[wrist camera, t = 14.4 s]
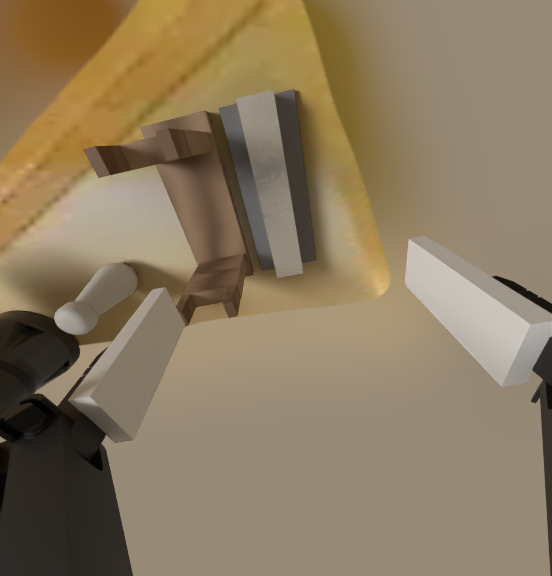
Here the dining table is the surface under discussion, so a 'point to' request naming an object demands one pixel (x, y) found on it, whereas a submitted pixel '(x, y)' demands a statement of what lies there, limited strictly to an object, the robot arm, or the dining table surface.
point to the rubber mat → (294, 172)
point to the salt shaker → (97, 298)
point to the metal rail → (271, 179)
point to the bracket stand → (191, 204)
